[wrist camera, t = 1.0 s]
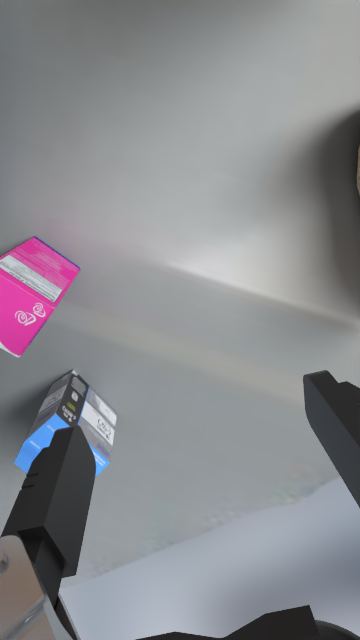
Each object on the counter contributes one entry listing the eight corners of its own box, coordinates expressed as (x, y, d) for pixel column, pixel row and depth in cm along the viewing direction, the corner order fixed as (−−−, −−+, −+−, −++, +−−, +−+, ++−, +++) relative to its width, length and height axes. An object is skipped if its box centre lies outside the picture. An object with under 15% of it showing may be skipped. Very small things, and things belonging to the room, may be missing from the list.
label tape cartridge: (119, 413, 44) (107, 497, 32) (96, 427, 44) (76, 513, 33) (74, 368, 40) (43, 443, 29) (49, 383, 41) (11, 463, 30)
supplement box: (55, 308, 37) (16, 361, 26) (6, 276, 35) (-56, 320, 25) (84, 269, 35) (55, 309, 25) (34, 233, 33) (-20, 261, 23)
